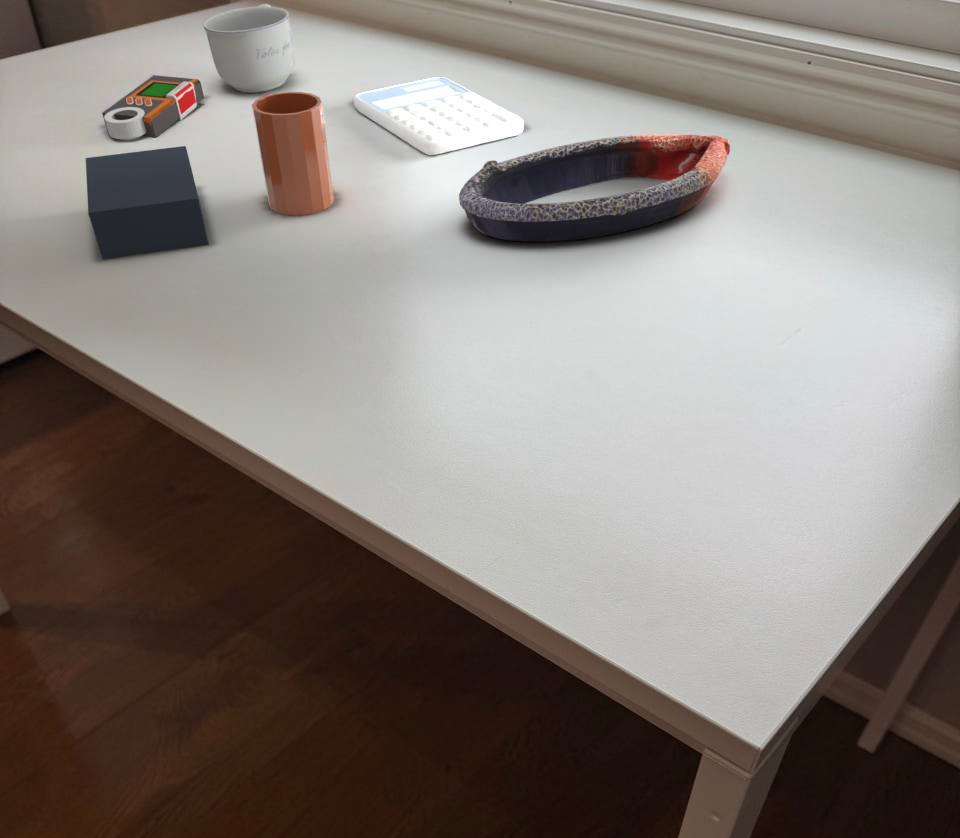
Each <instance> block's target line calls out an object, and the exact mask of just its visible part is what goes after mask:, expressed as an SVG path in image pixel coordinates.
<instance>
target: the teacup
mask: <svg viewBox="0 0 960 838" xmlns="http://www.w3.org/2000/svg"><path fill="white" fill-rule="evenodd" d="M202 26H203V29H204V30H205V33H206V37H207V41H208V46H209V50H210V53H211V56H212V60H213V64H214V67H215V70H216V72H217V74H218V75H219V77H220V78H221V79H222V80H223V82H225V83H227V84H228V85H230V86H231V87H232V88H233V89H235V90H236V91H238V92H241V93H261V92H262V93H263V92H267V91H271V90H274V89H277V88H279V87H281V86H282V85H284V84H285V82H286V81H287V78H288V77H289V76H290V75H291V73H292V71H294V67H295V63H296V57H295V54H296V53H295V46H294V39H293V35H292V30H291V23H290V12H289V11H288V10H286V9H285V8H281V7H278V6H271V5H270V4H269V3H261V4H259V5H258V6H257V5H256V6H249V7H240V8H234V9H233V8H232V9H230V10H228V11H227V10H225V11H222V12H220V13H218V14H213V15H212V16H209V18H207V19H205V20H204V22H203V25H202Z"/></svg>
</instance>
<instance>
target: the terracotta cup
mask: <svg viewBox="0 0 960 838" xmlns="http://www.w3.org/2000/svg"><path fill="white" fill-rule="evenodd" d="M251 109H252V115H253V121H254V125H255V131H256V138H257V144H258V150H259V155H260V162H261V166H262V167H261V169H262V174H263V179H264V184H265V190H266V196H267V202H268V206H269V209H270V210H272V211H273V212H275V213H276V214H281V215H284V216H299V217H300V216H308V215H314V214H317V213H320V212H323V211H325V210H327V209H328V208H330V207H332V205H333V203H334V201H335V198H334V189H333V181H332V174H331V172H332V171H331V166H330V164H331V163H330V156H329V149H328V140H327V132H326V123H325V116H324V108H323V101H322V100H321V98H320V96H318V95H315V94H313V93H310V92H304V91H282V92H275V93H274V92H273V93H271V94H267V95H264V96H261V97H259V98H257V99H256V100H254V101H253V103H252V104H251Z"/></svg>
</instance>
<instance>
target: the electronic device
mask: <svg viewBox="0 0 960 838" xmlns="http://www.w3.org/2000/svg"><path fill="white" fill-rule="evenodd" d="M203 91H204V90H203V87H202V82H201V80H200V79H198V78H189V77H188V78H187V77H177V76H168V75H167V76H165V75H155V74H153V75H152V76H150V77H149V78H148V79H146V80H145V81H143V82H142V83H141V84H140V85H138V86H137V87H136V88H134V89H133V90H131V91H130V92H129V93H127V94H126V95H124V96H123V97H121V98H120V99H119V100H118V101H117V102H115V103H114V104H112V105H110V107H108V108H106V109H105V110H104V111H102V112H101V114H102V118H103V121H104V125H105V128H106V130H107V133H108V135H109V136H110V138H113V139H116V140H130V139H136V138H139V137H151V138H157V137H158V136H159V135H161V134H162V133H163V132H164V131H166V130H167V129H169V127H171V126H172V125H173V124H174V123H176V122H177V121H178V120H179V121H182V120H183V119H184V118H185V117H187V116H188V115H189V114H191V112H192V111H194V110H195V109H196V108H197V107H198V104H199V103H200V102H201V101H203V100H204V99H205V95H204V92H203Z"/></svg>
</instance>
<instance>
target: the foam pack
mask: <svg viewBox="0 0 960 838" xmlns="http://www.w3.org/2000/svg"><path fill="white" fill-rule="evenodd" d="M85 171H86V172H85V175H86V193H87V194H86V195H87V213H88V214H87V215H88V217H89V220H90V223H91V228H92V230H93V233H94V236H95V239H96V243H97V246H98V251H99V253H100V256H101V259H102V260H109V259H116V258H122V257H123V258H124V257H132V256H136V255H137V256H138V255H144V254H153V253H157V252H159V253H160V252H166V251H172V250H180V249H189V248H194V247H201V246H208V245H210V242H209V238H208V234H207V229H206V224H205V220H204V215H203V211H202V207H201V202H200V198H199V194H198V193H199V192H198V189H197V186H196V185H197V184H196V181H195V177H194V174H193V169H192V165H191V162H190V158H189V152H188V149H187V146H186V145H181V146H173V147H172V146H171V147H166V148H165V147H164V148H157V149H148V150H140V151H134V152H133V151H132V152H131V151H130V152H125V153H124V152H122V153H115V154H108V155H99V156H91V157H85Z"/></svg>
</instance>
